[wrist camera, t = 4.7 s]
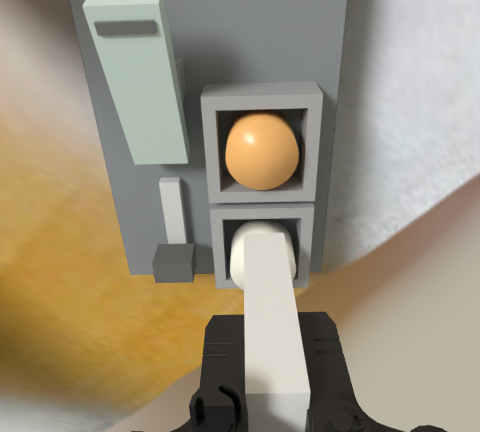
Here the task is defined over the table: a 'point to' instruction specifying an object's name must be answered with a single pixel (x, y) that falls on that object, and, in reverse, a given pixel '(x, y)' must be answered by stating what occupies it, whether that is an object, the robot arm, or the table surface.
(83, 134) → the table surface
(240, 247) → the button
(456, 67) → the table surface
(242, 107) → the panel
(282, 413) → the robot arm
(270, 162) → the button
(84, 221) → the table surface
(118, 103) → the block
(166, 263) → the slider
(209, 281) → the table surface
